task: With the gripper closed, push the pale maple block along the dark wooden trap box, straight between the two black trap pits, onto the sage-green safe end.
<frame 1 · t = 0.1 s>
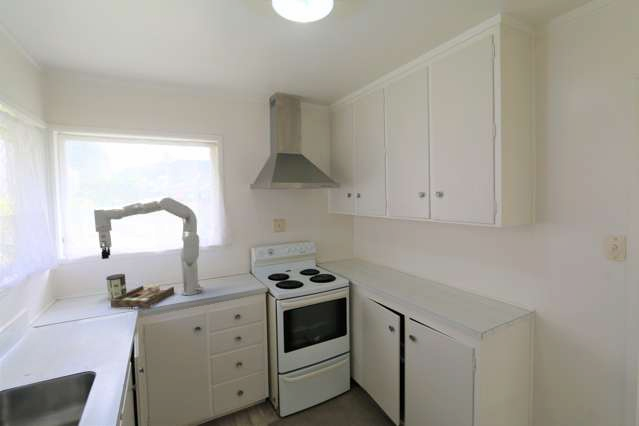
hand: (106, 257, 173), 31 cm above the countertop, tool pointing down, fingers open, 9 cm apart
trap box: (145, 299, 188), on the countertop
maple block: (153, 292, 195), point 2 cm above the countertop, touching trap box
coffee can: (117, 297, 194), on the countertop
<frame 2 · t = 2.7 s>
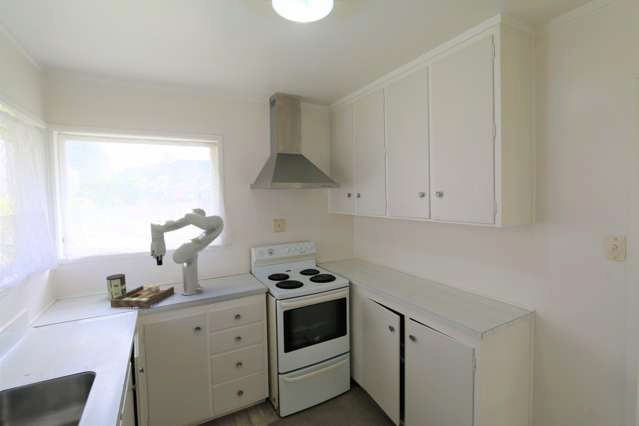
hand: (159, 265, 202), 18 cm above the countertop, tool pointing down, fingers closed
nothing on the countertop moved.
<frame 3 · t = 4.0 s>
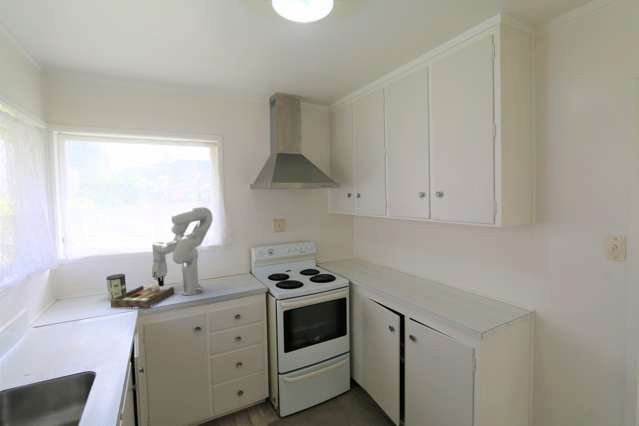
hand: (161, 285, 203), 3 cm above the countertop, tool pointing down, fingers closed
nothing on the countertop moved.
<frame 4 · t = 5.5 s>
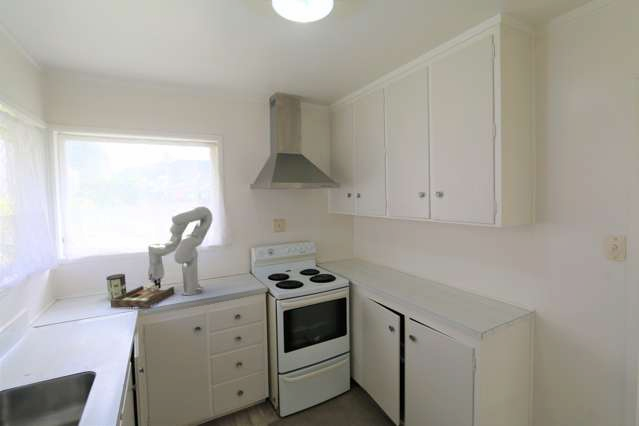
hand: (157, 288, 199), 3 cm above the countertop, tool pointing down, fingers closed
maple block: (153, 292, 195), point 2 cm above the countertop, touching gripper
everything else where it was.
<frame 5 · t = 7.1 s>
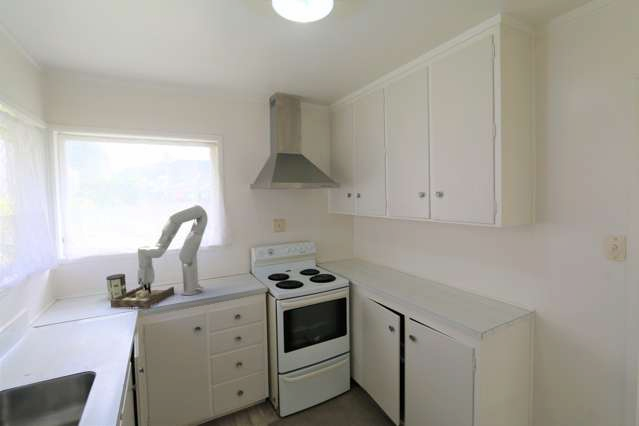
hand: (147, 293, 190), 3 cm above the countertop, tool pointing down, fingers closed
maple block: (142, 297, 186), point 2 cm above the countertop, touching gripper, trap box
everything else where it was.
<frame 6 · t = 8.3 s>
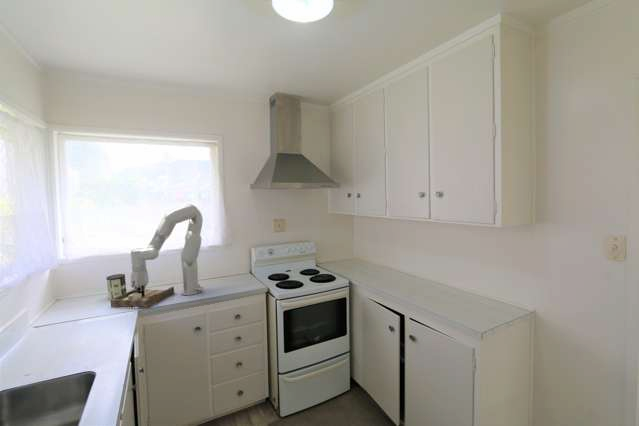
hand: (141, 296, 185), 3 cm above the countertop, tool pointing down, fingers closed
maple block: (135, 300, 180), point 2 cm above the countertop, touching gripper, trap box
everything else where it was.
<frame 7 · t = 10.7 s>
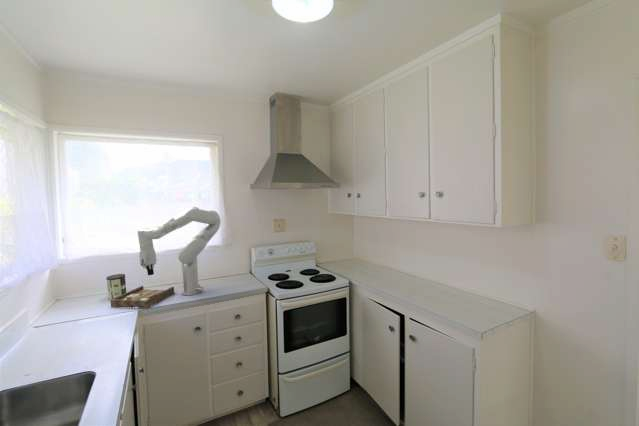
hand: (150, 274, 191), 15 cm above the countertop, tool pointing down, fingers closed
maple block: (133, 301, 179), point 2 cm above the countertop, touching trap box
everything else where it was.
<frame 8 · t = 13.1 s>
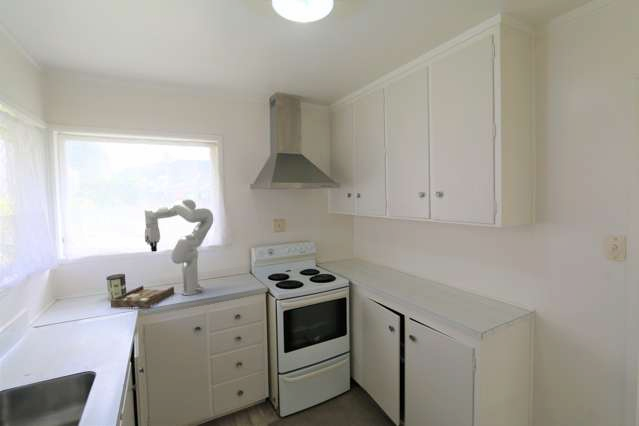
hand: (154, 251, 206), 27 cm above the countertop, tool pointing down, fingers closed
nothing on the countertop moved.
at the end: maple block 0.9 cm from the target spot on the trap box, point 2.0 cm above the trap box's base; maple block tilted 0° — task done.
